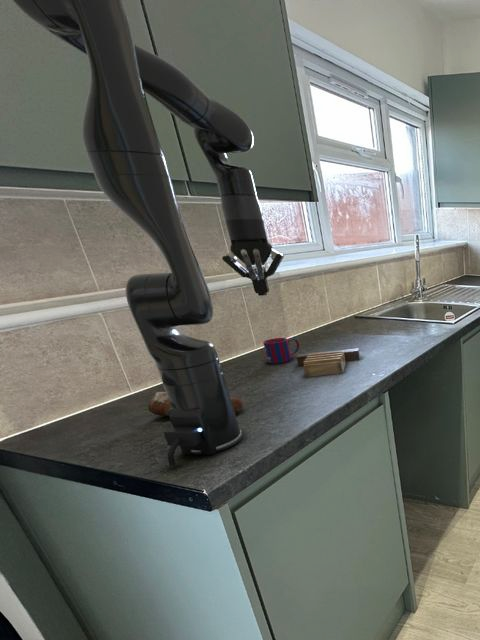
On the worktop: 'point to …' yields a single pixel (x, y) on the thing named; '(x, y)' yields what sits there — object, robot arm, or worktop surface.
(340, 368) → the rack
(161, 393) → the bread
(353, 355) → the stop rail
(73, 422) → the worktop surface
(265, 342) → the mug
